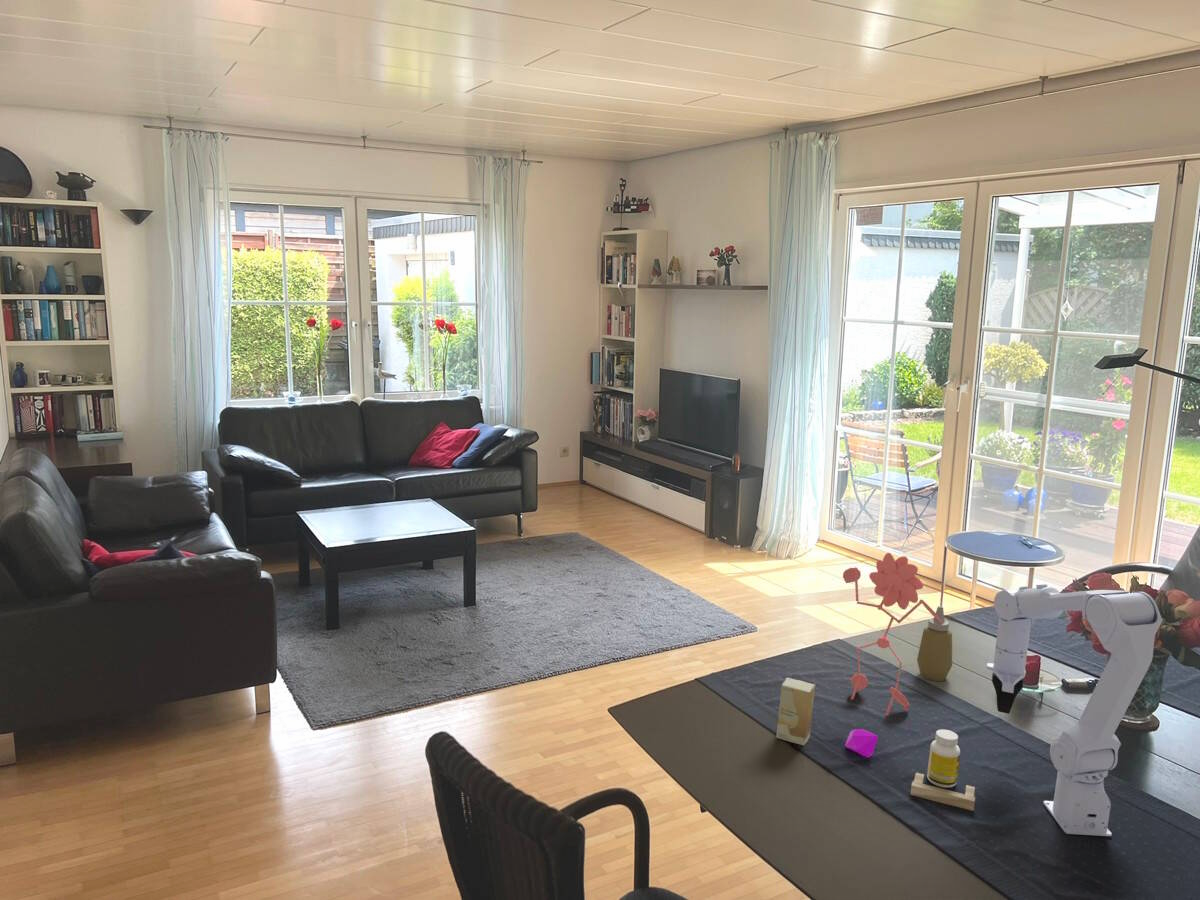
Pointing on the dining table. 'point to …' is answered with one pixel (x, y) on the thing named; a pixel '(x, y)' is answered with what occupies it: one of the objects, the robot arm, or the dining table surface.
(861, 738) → the crystal
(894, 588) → the figurine
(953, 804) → the u rest
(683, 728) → the dining table surface
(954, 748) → the supplement bottle
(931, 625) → the squeeze bottle
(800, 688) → the skincare box
